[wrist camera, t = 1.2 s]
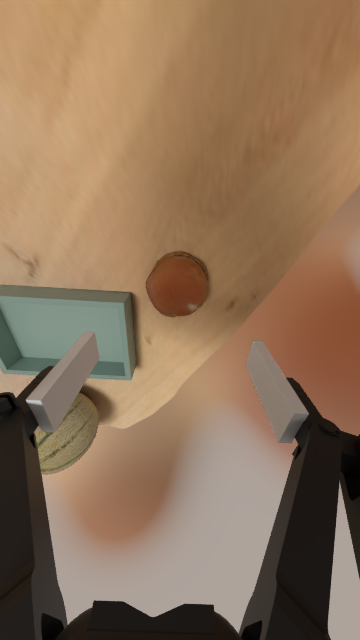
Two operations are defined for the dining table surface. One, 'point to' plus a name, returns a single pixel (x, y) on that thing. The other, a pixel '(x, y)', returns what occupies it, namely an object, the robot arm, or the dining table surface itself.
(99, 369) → the teal tray
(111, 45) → the dining table surface
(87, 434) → the cantaloupe
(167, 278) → the burger
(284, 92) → the dining table surface
